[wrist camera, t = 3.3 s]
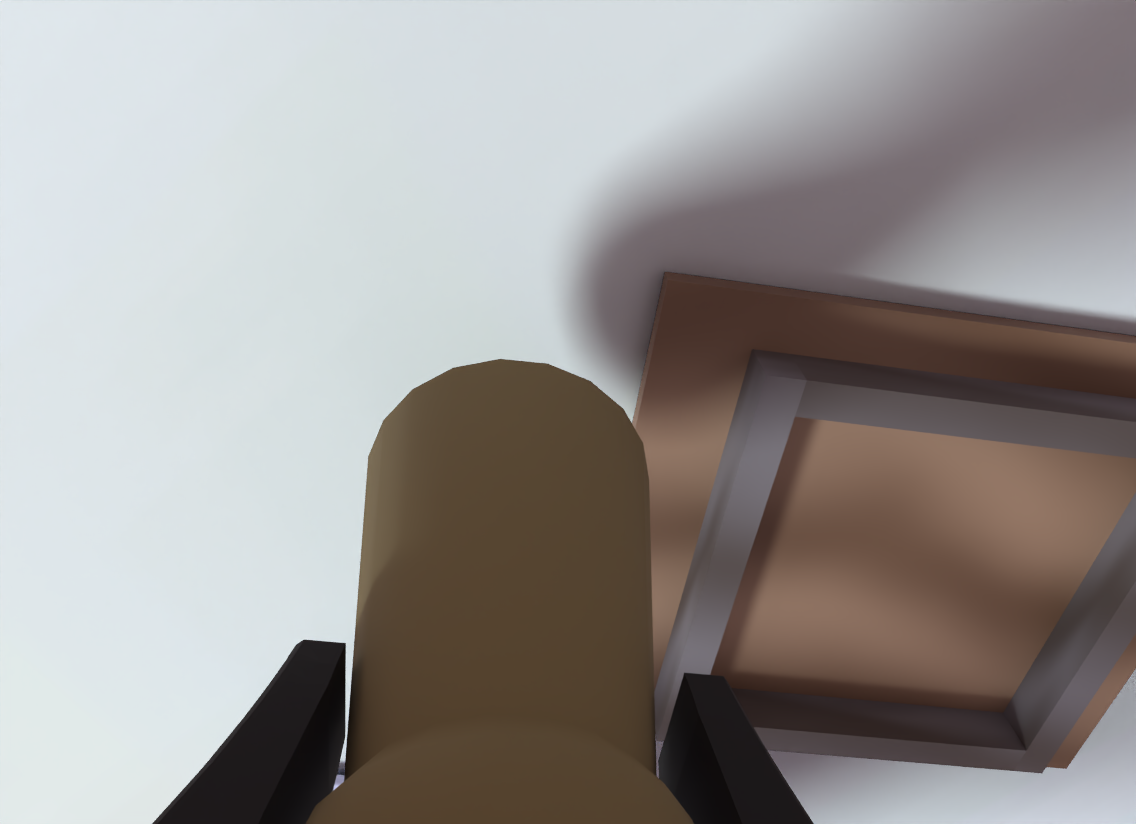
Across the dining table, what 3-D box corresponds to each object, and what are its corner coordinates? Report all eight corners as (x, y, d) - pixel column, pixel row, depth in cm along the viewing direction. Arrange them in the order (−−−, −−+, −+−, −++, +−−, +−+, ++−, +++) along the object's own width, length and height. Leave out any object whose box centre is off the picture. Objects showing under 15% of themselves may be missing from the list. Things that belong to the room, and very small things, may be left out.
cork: (314, 416, 16) (-9, 1092, 6) (598, 317, 15) (731, 906, 5) (437, 624, 19) (347, 1309, 9) (681, 548, 18) (865, 1206, 8)
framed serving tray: (1056, 754, 29) (1091, 807, 27) (570, 712, 27) (571, 765, 25) (1321, 361, 21) (1395, 398, 19) (664, 271, 20) (676, 302, 18)
